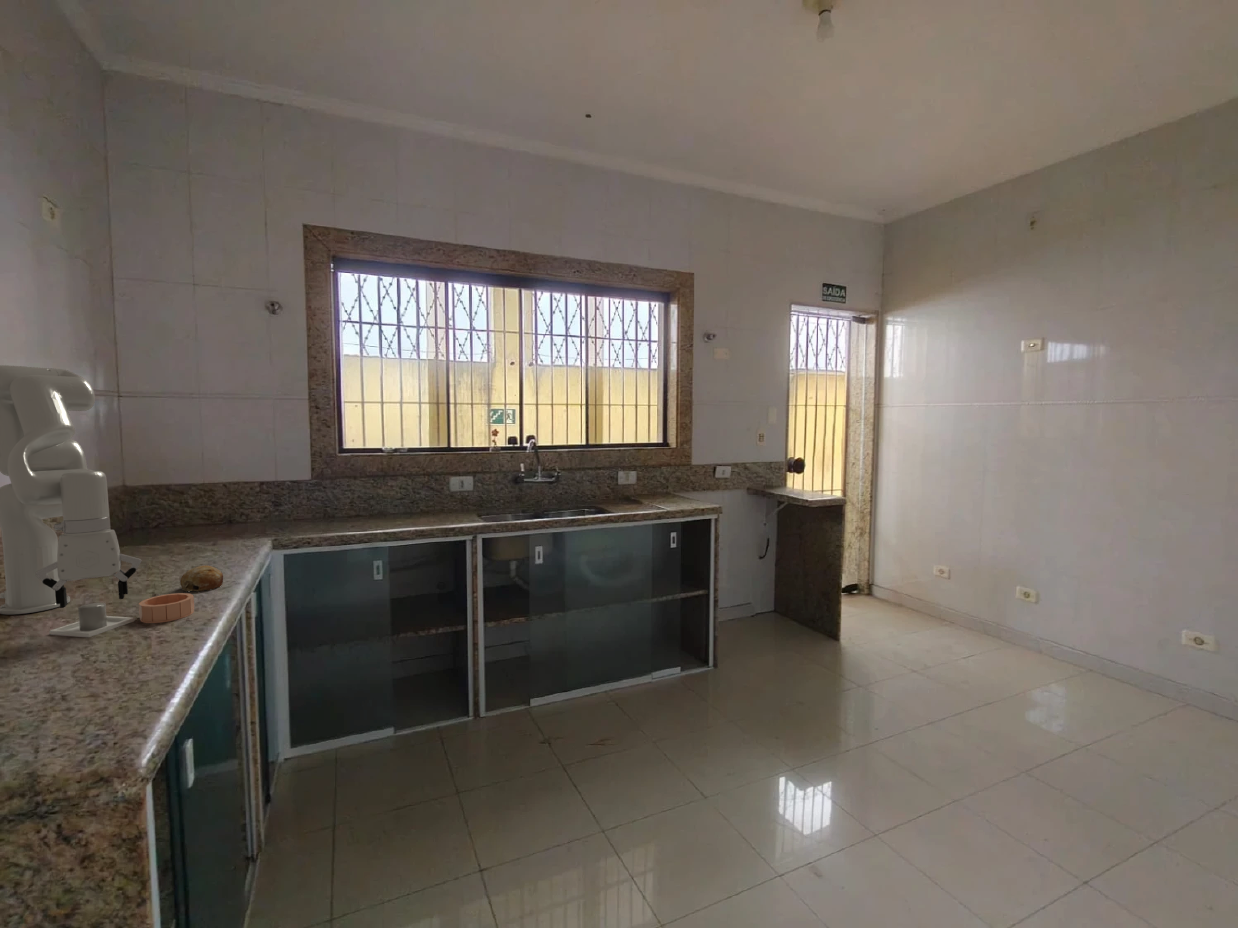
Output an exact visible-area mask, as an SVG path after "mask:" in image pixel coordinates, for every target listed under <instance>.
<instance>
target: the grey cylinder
mask: <svg viewBox="0 0 1238 928" xmlns="http://www.w3.org/2000/svg"><path fill="white" fill-rule="evenodd" d="M77 608H78V610H77V611H78V621H79V626H80V631H92V630H97V629H99V628H102V627H105V626H107V618H106V616H107V605H106V603H105V602H91V603H87V604H83V605H81V606H78V607H77Z"/></svg>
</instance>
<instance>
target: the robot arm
mask: <svg viewBox="0 0 1238 928" xmlns="http://www.w3.org/2000/svg"><path fill="white" fill-rule="evenodd" d="M95 403H96V394H95V391H94V388H93V387H92V385H91V384H90V382H89V381H88V380H87V379H86V378H84V377H83V376H81V375H78V374H77V373H74V372H72V371H70V370H67V369H62V368H49V367H35V366H22V365H6V364H5V365H2V364H1V365H0V473H1V474H2V475H3V476H7V477H9V480H10V483H7V484H5V485H3V486H1V487H0V531H1V541H2V552H3V553H2V555H3V563H4V565H3V566H4V577H5V590H4V592H0V599H4V601H5V602H4V604H1V605H0V614H1V615H22V614H30V613H37V612H43V611H47V610H48V611H49V610H52V609H56V608H59V607H60V609H62V608H63V609H64V608H65V607H66V606H67V605H68V604H69V603H70V601H71V596H69V595H67V588H66V587H65V584H66V583H67V582H70V581H79V580H80V581H81V580H87V579H89V580H90V579H94V578H103V577H109V576H114V577H116V578H117V579H118V583H117V589H118V599H119V600H124V599H125V595H128V593H129V589H128V588H129V587H128V579H130V577H132V576H133V575H134V574H135V573H136V572H137V570H138V568H139V567H140V565H141V562H142V559H141V558H138V557H134V556H131V555H128V554H123V553H121V551H120V545H119V540H118V536H117V534H116V531H115V529H111V519H110V518H111V517H110V508H109V507H110V506H109V504H110V503H109V494H108V493H109V492H108V490H109V489H108V481H107V480H108V479H107V475H106V473H105V472H104V471H101V470H93V469H90V468H88V463H87V458H86V454H85V452H84V448H83V447H82V446H81V444H80V443H79V442H78V441H76V440H75V439H72V438H73V437H74V436H75V433H76V429H75V428H76V427H75V425H74V423H73V421H72V417H71V415H70V412H85V411H89V410H91V409H93V406H94V405H95ZM58 517H62V519H63V520H62V521H61V522H59V523H54V525H53V526H54V527H53V528H54V529H53V528H52V527H50V526H49V525H48V524H46V523H45V522H43V520H45V519H50V518H58ZM56 531H62V532H63V534H61V535H59V536H58V534H57V532H56ZM122 562H126V563H129V564H131V566H130V567H129V569H128V570H127V571H123V570H122V569H121V568H122Z"/></svg>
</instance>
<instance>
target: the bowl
mask: <svg viewBox="0 0 1238 928" xmlns="http://www.w3.org/2000/svg"><path fill="white" fill-rule="evenodd" d="M194 612H195V596H194V595H193V594H192V593H190V592H186V593H185V592H184V593H183V592H178V593H177V592H176V593H168V594H161V595H155V596H152V597H149V598H146V599H143V600H141V601H140V602H139V603H138V617H139V618H138V619H140V622H141V623H145V624H158V623H168V622H171V621H172V622H173V621H176V620H177V621H178V620H180V619H183V618H187V617H190V616H191V615H192V614H193V613H194Z"/></svg>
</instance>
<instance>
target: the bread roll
mask: <svg viewBox="0 0 1238 928" xmlns="http://www.w3.org/2000/svg"><path fill="white" fill-rule="evenodd" d="M179 580H180V588H181V590H182V591H183V592H187V591H196V592H205V591H204V590H207V591H211V590H210V589H212V590H215V589H214V588H216V589H218V588H217V587H219V588H220V586H221V585H223V583H224V573H223V572H222V571H221V570H220V569H218V568H216V567H214V566H212V565H211V566H210V565H205V564H204V565H199V566H195V567H193V568H190V569H189V570H187V571H186V572H184V573H183V575H182V576H181V577H180V579H179ZM221 587H222V586H221Z"/></svg>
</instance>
